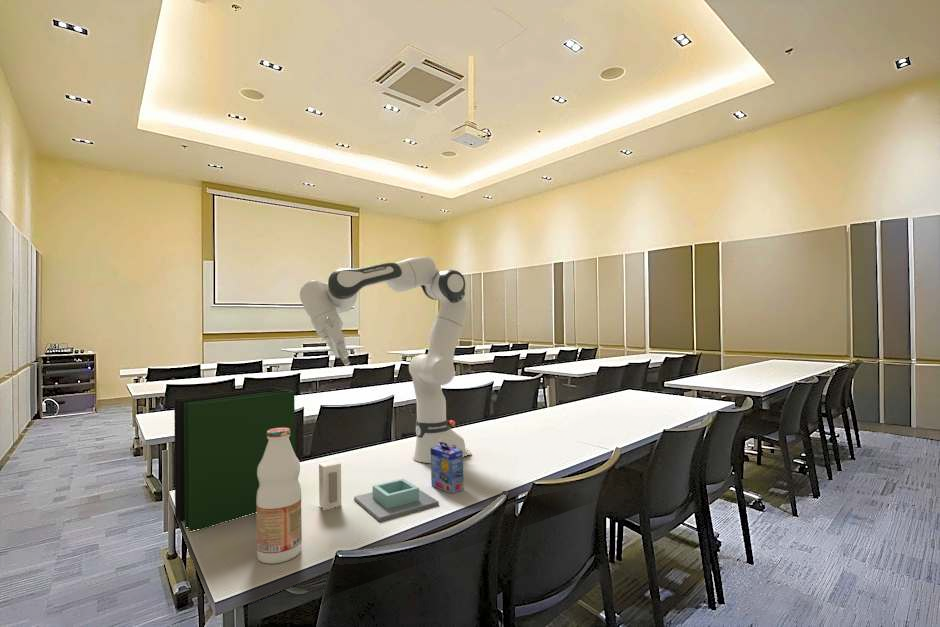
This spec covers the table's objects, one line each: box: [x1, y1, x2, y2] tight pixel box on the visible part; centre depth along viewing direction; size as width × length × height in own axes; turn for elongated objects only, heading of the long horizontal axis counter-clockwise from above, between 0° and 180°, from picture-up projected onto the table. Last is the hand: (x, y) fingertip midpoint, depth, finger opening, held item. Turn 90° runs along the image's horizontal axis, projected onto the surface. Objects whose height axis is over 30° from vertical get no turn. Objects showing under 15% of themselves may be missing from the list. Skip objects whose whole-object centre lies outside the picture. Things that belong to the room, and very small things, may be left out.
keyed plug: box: [318, 459, 342, 511], centre depth 131 cm, size 5×5×12 cm
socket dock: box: [353, 478, 440, 522], centre depth 133 cm, size 18×18×4 cm
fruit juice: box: [256, 428, 303, 565], centre depth 104 cm, size 9×9×28 cm
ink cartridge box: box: [430, 442, 465, 494], centre depth 144 cm, size 10×6×14 cm, turn 44°
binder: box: [173, 386, 296, 531], centre depth 130 cm, size 27×15×32 cm, turn 136°
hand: (347, 360), depth 151 cm, fingers open, 8 cm apart
